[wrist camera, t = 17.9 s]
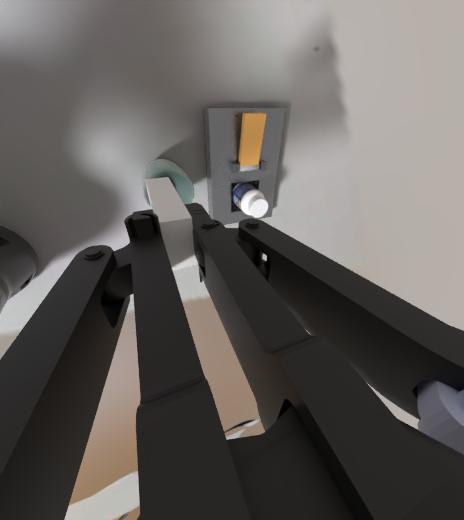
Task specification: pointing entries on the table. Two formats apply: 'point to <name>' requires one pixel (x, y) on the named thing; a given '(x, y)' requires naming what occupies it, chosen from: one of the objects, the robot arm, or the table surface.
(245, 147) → the lever
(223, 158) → the hitch plate
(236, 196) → the pill bottle
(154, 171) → the cup
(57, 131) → the table surface
